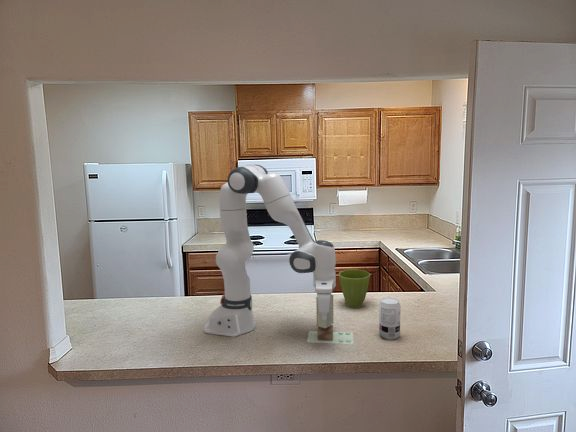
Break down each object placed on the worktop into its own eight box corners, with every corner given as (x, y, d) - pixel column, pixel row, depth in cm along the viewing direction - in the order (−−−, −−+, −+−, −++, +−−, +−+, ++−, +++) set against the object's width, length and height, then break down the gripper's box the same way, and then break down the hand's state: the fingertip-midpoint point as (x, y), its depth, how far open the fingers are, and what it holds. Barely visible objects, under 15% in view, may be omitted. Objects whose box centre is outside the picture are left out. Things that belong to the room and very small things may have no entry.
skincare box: (325, 321, 166) (324, 292, 164) (334, 323, 163) (333, 294, 162) (316, 326, 161) (315, 296, 160) (325, 328, 159) (325, 299, 157)
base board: (307, 345, 159) (307, 340, 159) (309, 334, 169) (309, 329, 169) (353, 347, 157) (353, 342, 157) (352, 335, 167) (352, 330, 167)
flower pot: (332, 305, 200) (332, 274, 197) (351, 297, 209) (351, 267, 207) (356, 313, 189) (356, 280, 186) (375, 304, 199) (376, 273, 196)
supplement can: (375, 333, 169) (375, 299, 166) (392, 329, 171) (392, 296, 169) (386, 341, 161) (387, 306, 159) (404, 337, 164) (404, 302, 161)
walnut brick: (317, 340, 161) (317, 330, 160) (318, 333, 167) (318, 324, 166) (332, 340, 160) (332, 331, 159) (333, 333, 166) (332, 324, 165)
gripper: (317, 273, 170) (318, 304, 172) (315, 290, 150) (315, 325, 152) (332, 273, 169) (333, 304, 172) (332, 290, 149) (332, 325, 152)
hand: (324, 314), depth 162 cm, fingers closed on skincare box, 7 cm apart
